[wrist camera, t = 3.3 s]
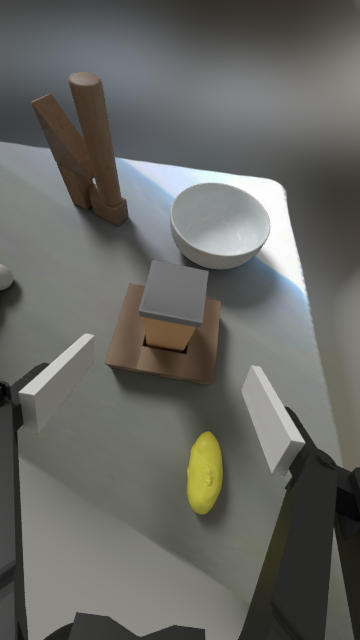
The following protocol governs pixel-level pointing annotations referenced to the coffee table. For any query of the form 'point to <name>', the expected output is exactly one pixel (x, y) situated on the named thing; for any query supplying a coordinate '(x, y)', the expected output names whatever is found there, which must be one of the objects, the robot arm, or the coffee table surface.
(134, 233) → the coffee table surface
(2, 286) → the rainbow petal toy
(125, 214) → the wooden v-shaped piece
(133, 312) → the header block
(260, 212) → the cereal bowl
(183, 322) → the plug
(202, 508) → the yellow oblong piece
